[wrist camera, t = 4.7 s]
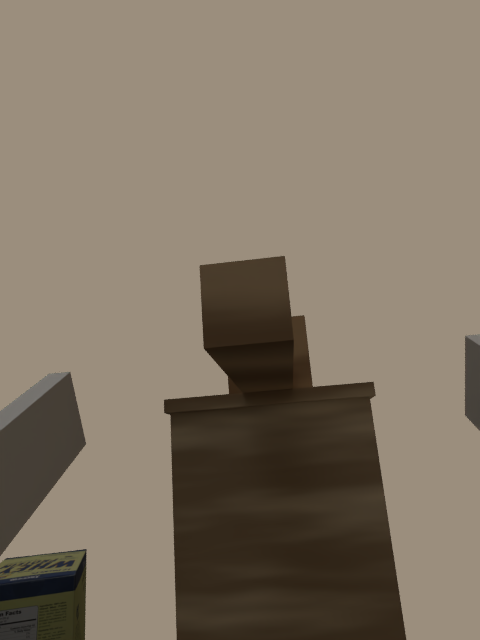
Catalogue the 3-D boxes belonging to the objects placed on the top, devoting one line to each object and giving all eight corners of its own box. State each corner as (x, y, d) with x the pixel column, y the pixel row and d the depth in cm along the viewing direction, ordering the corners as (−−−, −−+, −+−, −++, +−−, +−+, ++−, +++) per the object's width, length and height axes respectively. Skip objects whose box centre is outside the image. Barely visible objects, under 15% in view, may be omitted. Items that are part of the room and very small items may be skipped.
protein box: (84, 679, 58) (87, 547, 63) (71, 751, 44) (76, 573, 48) (-5, 696, 56) (5, 557, 60) (-50, 778, 41) (-33, 587, 46)
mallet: (340, 335, 15) (318, 175, 16) (160, 352, 15) (156, 195, 17) (310, 404, 38) (302, 334, 39) (238, 410, 38) (234, 341, 40)
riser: (488, 1124, 18) (373, 381, 27) (181, 1109, 19) (164, 399, 28) (409, 855, 30) (347, 402, 39) (223, 854, 31) (202, 414, 40)
